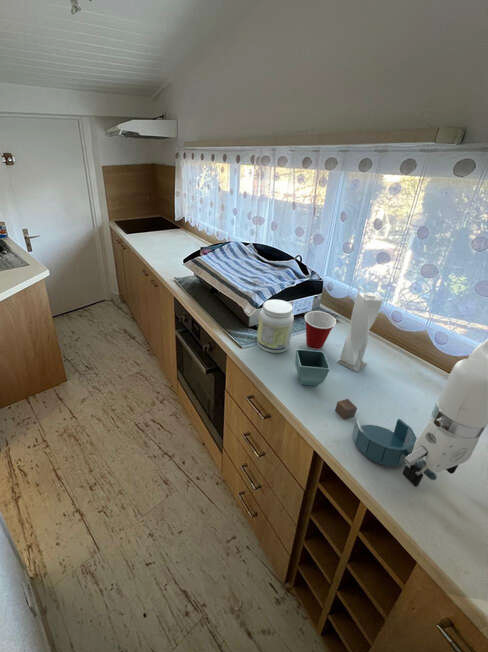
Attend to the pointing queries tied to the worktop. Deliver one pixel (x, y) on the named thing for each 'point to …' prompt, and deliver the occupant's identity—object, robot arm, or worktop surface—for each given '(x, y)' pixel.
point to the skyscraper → (360, 329)
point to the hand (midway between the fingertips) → (427, 473)
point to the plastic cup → (318, 328)
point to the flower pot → (311, 367)
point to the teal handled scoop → (387, 444)
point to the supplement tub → (275, 326)
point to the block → (346, 409)
